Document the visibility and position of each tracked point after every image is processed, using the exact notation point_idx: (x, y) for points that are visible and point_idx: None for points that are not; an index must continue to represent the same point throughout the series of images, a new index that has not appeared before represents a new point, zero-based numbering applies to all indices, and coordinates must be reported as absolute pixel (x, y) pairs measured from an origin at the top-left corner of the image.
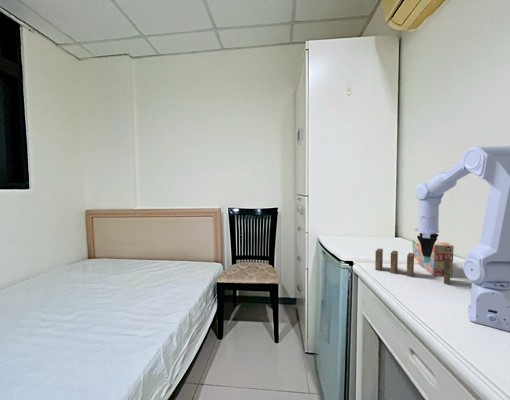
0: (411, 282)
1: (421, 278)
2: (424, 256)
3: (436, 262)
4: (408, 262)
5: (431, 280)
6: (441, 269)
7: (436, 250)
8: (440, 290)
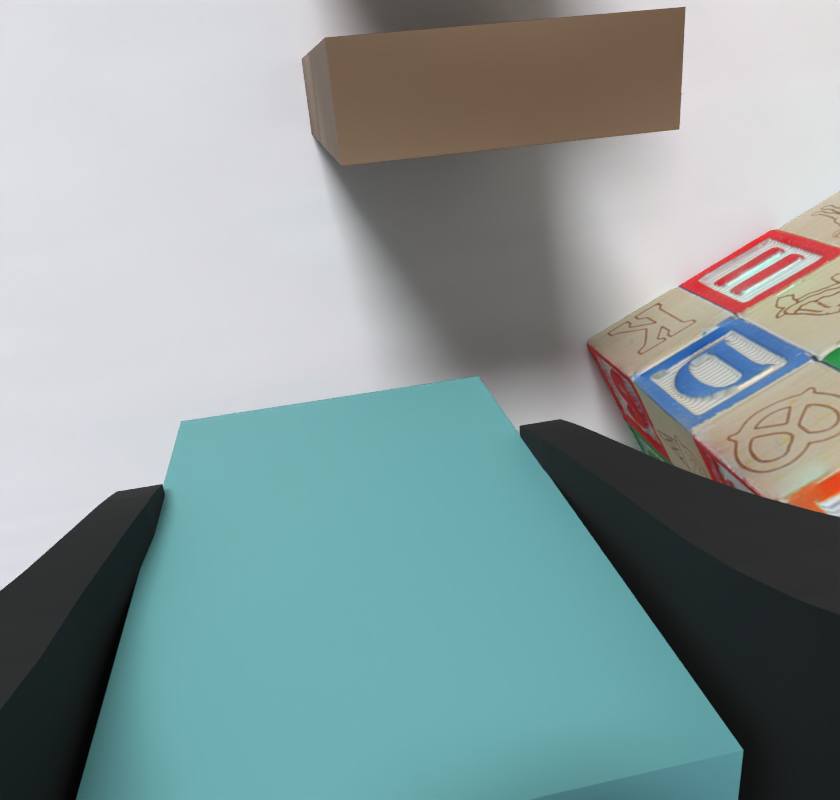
0: (56, 187)
1: (358, 253)
2: (168, 497)
3: (687, 446)
4: (319, 77)
5: (369, 364)
6: (664, 449)
7: None
8: (70, 509)
